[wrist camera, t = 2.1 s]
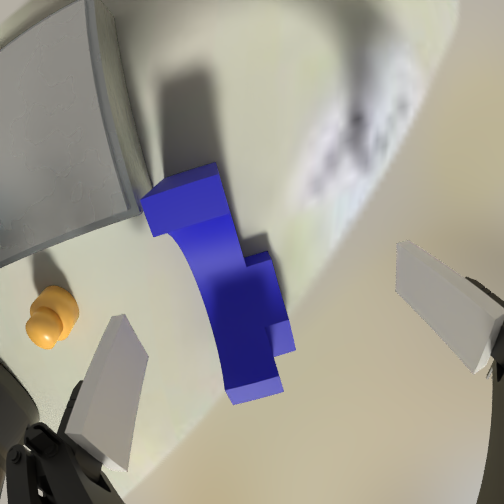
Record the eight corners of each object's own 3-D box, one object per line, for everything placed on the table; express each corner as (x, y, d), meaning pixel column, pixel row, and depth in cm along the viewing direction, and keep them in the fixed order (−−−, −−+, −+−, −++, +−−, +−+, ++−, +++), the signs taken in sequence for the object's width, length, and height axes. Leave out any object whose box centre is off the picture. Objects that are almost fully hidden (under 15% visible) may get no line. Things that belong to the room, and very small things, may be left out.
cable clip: (285, 323, 20) (309, 383, 14) (225, 340, 20) (232, 404, 14) (241, 154, 15) (259, 162, 10) (164, 177, 15) (139, 200, 10)
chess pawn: (55, 327, 17) (37, 356, 14) (35, 290, 16) (12, 317, 13) (86, 320, 18) (70, 352, 14) (65, 280, 16) (43, 309, 13)
